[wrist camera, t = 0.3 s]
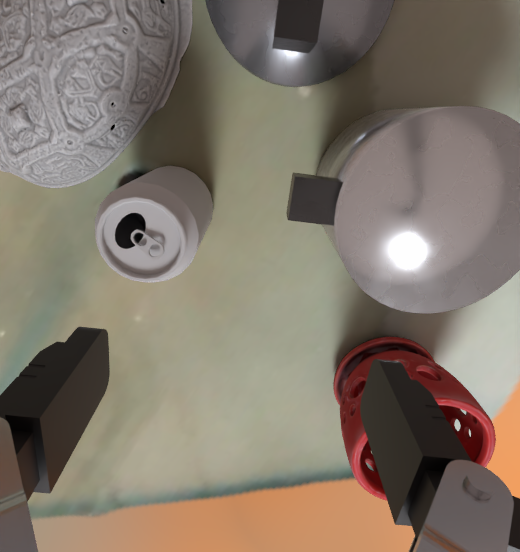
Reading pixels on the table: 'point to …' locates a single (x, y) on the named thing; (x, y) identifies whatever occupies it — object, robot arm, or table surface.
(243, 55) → the lid
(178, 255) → the can
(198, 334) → the table surface
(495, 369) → the table surface
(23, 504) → the robot arm
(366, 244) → the cooker
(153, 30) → the grey oval domed piece
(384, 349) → the plant pot
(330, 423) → the table surface
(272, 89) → the table surface
